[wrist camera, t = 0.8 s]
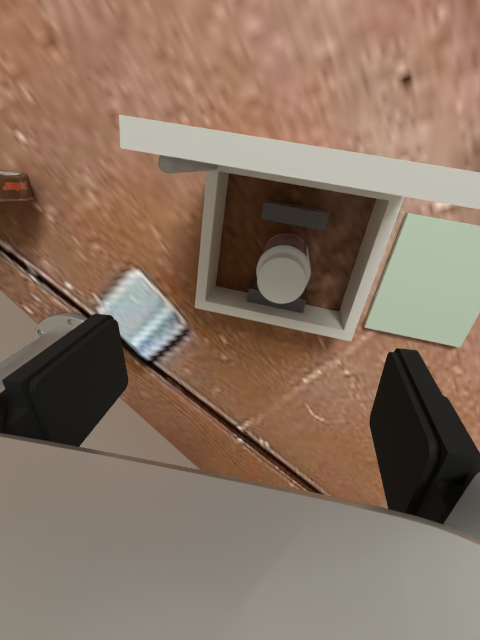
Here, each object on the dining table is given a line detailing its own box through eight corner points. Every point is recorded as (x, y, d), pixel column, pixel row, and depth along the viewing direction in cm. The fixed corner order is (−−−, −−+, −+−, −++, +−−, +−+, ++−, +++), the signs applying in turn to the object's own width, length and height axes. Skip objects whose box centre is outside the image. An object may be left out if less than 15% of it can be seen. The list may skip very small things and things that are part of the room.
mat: (457, 344, 34) (460, 347, 33) (363, 324, 34) (364, 327, 34) (520, 232, 28) (524, 233, 27) (406, 212, 29) (408, 213, 28)
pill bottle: (255, 245, 33) (241, 269, 25) (296, 223, 31) (295, 241, 24) (275, 283, 34) (268, 316, 27) (316, 264, 32) (321, 294, 25)
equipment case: (345, 321, 35) (383, 460, 18) (206, 292, 36) (127, 397, 20) (397, 171, 28) (534, 181, 11) (222, 142, 29) (119, 114, 13)
